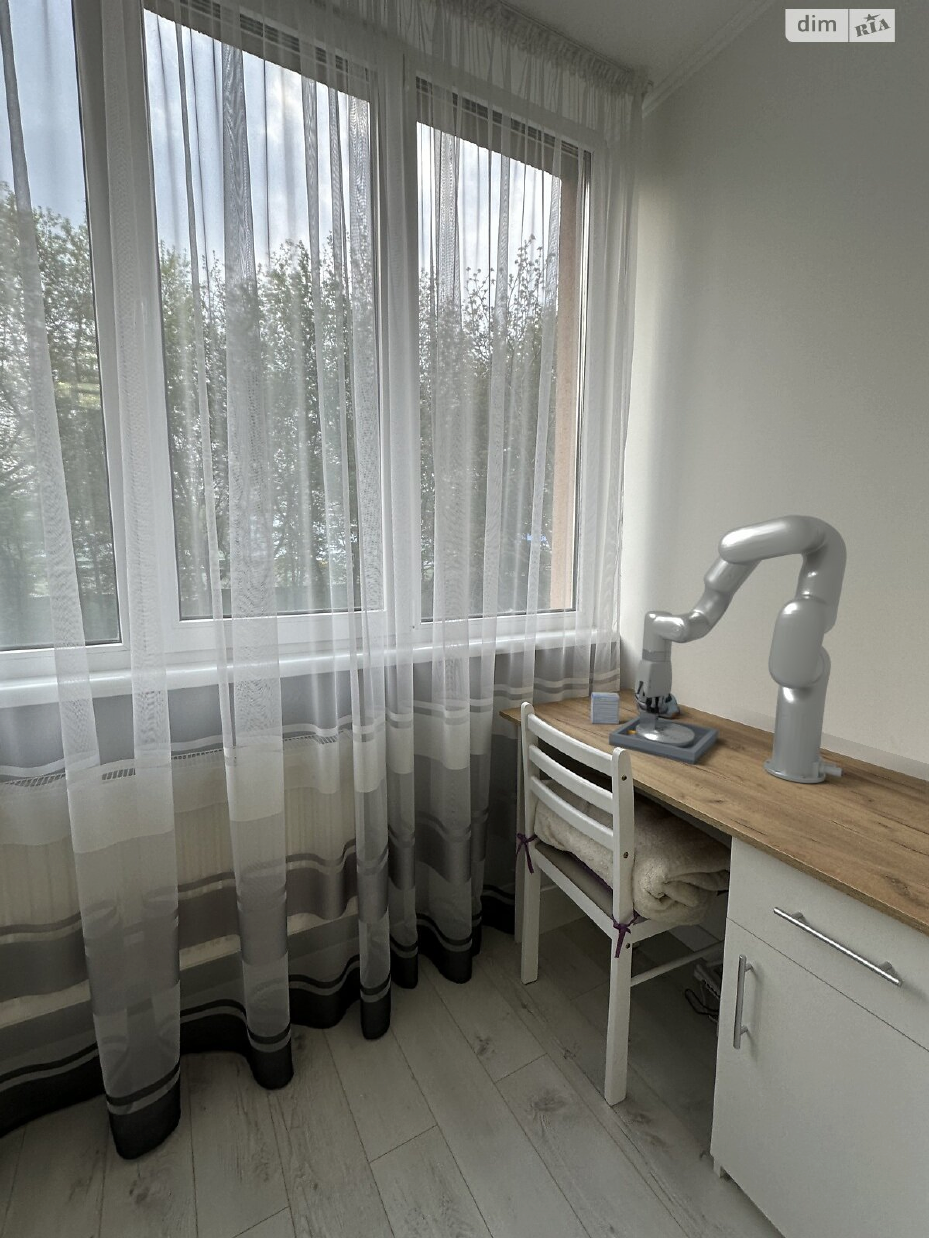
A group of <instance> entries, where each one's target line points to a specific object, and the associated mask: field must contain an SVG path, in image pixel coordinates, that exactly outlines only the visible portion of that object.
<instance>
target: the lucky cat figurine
mask: <svg viewBox="0 0 929 1238" xmlns="http://www.w3.org/2000/svg"><path fill="white" fill-rule="evenodd" d="M638 697H639V695H638V694H635V693H634V698H635V700H636V702H637V704H636V709H637V710H638V712H639V713H640V711H642V710H644V711H646V705H645V703H644V702H641V701H639V700H638ZM650 700H651V699H650ZM682 714H683V711H682V710H681V708H680V706H678V702H677V699H676V696H675V695H674V694H672V692H670V693H669V694H668V697H667V698H665V699H663V701H662V703H661V706H660V707H659V717H662V718H669V719H671V720H672V719H673V720H675V719H676V718H678V717H679V716H680V715H682Z"/></svg>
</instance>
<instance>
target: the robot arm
mask: <svg viewBox="0 0 929 1238" xmlns="http://www.w3.org/2000/svg"><path fill="white" fill-rule="evenodd" d="M844 540H845V539H844V538H843V537H842V534H841V533H840V532H839V531H838V529H836V528H835V527H834V526H833V525H832V524H829V523H828V522H827V521H825V520H822V519H820V518H817V517H815V516H811V515H800V514H799V515H798V514H791V515H783V516H780V517H776V518H772V519H767V520H764V521H759V522H756V523H750V524H747V525H742V526H739V527H736V528H735V527H734V528H732V529H730V530H728V531H727V532H725V533H724V534H723V535H722V537H721V538H720V539H719V541H718V547H717V550H718V557H717V558H716V559H715V561H714V562H713V563H712V565H711V566H710V568H708V570H707V571H706V573H704V576H703V584H704V589H703V593H702V595H701V596H700V598H699V600H698V601H697V602H696V603H695V605H694V606H693V608H691V610H690V611H689V612H685V613H682V614H681V613H680V614H673V613H672V612H670V611H664V610H649V611H647V612H646V613H645V614H644V620H643V621H644V622H643V634H642V635H643V637H642V648H641V649H642V651H641V659H640V660H639V663H638V666H637V670H636V675H635V682H634V685H635V686H634V695H635V694H638V695H639V697H638V700H639V701H641V702H644V703H645V705H646V711H648V712H653V713H657V714H658V718H660V716H659V707H660V706H661V703H662V701H663V699H665V698H667V697H668V694H669V693H672V692H671V691H672V685H673V668H672V667H673V666H672V660H671V659H672V647H673V646H672V645H673V642H674V643H677V644H687V643H690V642H693V641H696V640H700V639H703V638H704V637H706V636H707V635H708V634H709V633H710V632H711V631H712V630H713V629H714V627H715V626H716V625H717V623H718V622H719V621H720V620H721V619H722V618H723V616H724V615H725V613H726V612H727V610H728V608H729V606H730V605H731V603H732V600H733V598H734V597H735V594H736V593H737V592H738V590H739V589H740V588H741V587H742V586H743V584H744V583H745V582H746V581H747V580H748V578H749V577H750V576H751V574H752V573H753V572H754V571H755V570H756V568H757V567H758V565H759V564H760V563H761V562H762V561H763V560H769V559H773V558H778V557H785V556H790V555H801V557H802V565H801V568H800V571H799V573H798V579H797V585H796V591H795V594H794V598H792V599H790V600H788V601H787V602H785V603H784V604H783V605H782V607H781V608H780V609H779V611H778V613H777V616H776V620H775V623H774V624H775V625H774V629H773V633H772V638H771V645H770V650H769V655H768V663H767V664H768V672H769V674H770V676H771V679H773V680H774V682H775V683H776V684H777V685H778V691H777V697H776V707H775V719H774V732H773V741H772V742H773V744H772V752H771V753H772V754H771V758H768V759H766V760H765V761H764V762H763V768H764V770H765V771H766V772H767V773H769V774H771V775H772V776H775V777H777V778H780V779H782V780H786V781H789V782H793V783H794V782H795V783H802V784H817V783H821V782H824V781H825V780H826V774H827V775H831V776H834V777H838V778H842V769H843V768H840V767H837V764H834V763H826V762H825V761H824V760H823V756H822V755H821V745H822V744H821V743H822V734H823V733H822V732H823V723H824V713H825V706H826V698H827V696H826V695H827V690H828V685H829V680H830V674H831V669H832V668H831V667H832V664H831V663H832V661H831V656H830V655H829V652H828V651H827V649H826V648H825V647H824V646H823V641H824V637H825V634H827V633H828V632H830V631H831V630H832V629H833V627H834V626H835V625H836V622H837V617H838V610H839V605H840V600H841V595H842V589H843V582H844V578H845V577H844V576H845V572H846V565H847V559H848V557H847V555H848V554H847V546H846V543H845V541H844ZM650 699H651V700H650Z"/></svg>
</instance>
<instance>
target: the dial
mask: <svg viewBox="0 0 929 1238" xmlns="http://www.w3.org/2000/svg"><path fill="white" fill-rule="evenodd" d="M639 714H640V719H639V724H638V725H637V726H636V734H635V735H636V737H637V738H639V739H644V740H648V741H653V742H657V743H662V744H666V745H671V746H675V747H679V748H681V747H687V746H690V745H692V744H693V743H694V732H693V731H692V730H691V729H689V728H687V727H684V726H681V725H678V724H673V723H667V722H658V714H657V713H653V712H648V711H644V710H642V711H640V712H639Z"/></svg>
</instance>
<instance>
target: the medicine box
mask: <svg viewBox="0 0 929 1238" xmlns="http://www.w3.org/2000/svg"><path fill="white" fill-rule="evenodd" d="M590 694H591V695H590V720H591V723H592V724H594V725H597V724H601V725H619V722H620V704H621V703H620V701H621V700H620V699H621V697H620V695H619V693H617V692H601V691H600V692H598V691H597V692H595V691H593V692H591V693H590Z"/></svg>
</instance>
